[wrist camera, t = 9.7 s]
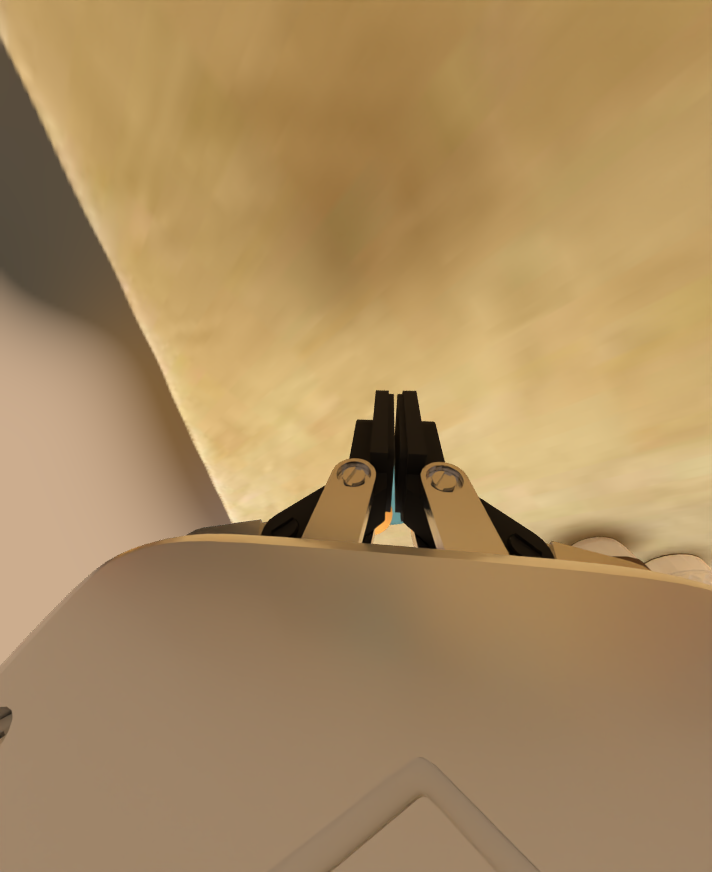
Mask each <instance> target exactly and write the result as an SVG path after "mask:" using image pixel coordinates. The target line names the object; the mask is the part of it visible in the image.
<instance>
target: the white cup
mask: <svg viewBox="0 0 712 872" xmlns="http://www.w3.org/2000/svg"><path fill="white" fill-rule="evenodd" d="M645 565H646V566H647V567H648V568H649V569H650V570H651V571H654V572H659V573H664V574H669V575H673V576H678V577H682V578H686V579H689V580H693V581H697V582H700V583H704V584H707V585H711V586H712V569H711V568H710V567H709V566H708V565H707V564H706V563H705V562H704V561H703V560H702V559H701V558H699V557H696V556H693V555H686V554H676V555H668V556H663V557H660V558H656V559H653V560H651V561H649V562H647V563H645Z"/></svg>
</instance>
